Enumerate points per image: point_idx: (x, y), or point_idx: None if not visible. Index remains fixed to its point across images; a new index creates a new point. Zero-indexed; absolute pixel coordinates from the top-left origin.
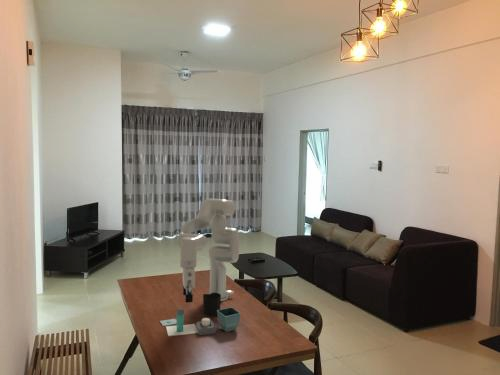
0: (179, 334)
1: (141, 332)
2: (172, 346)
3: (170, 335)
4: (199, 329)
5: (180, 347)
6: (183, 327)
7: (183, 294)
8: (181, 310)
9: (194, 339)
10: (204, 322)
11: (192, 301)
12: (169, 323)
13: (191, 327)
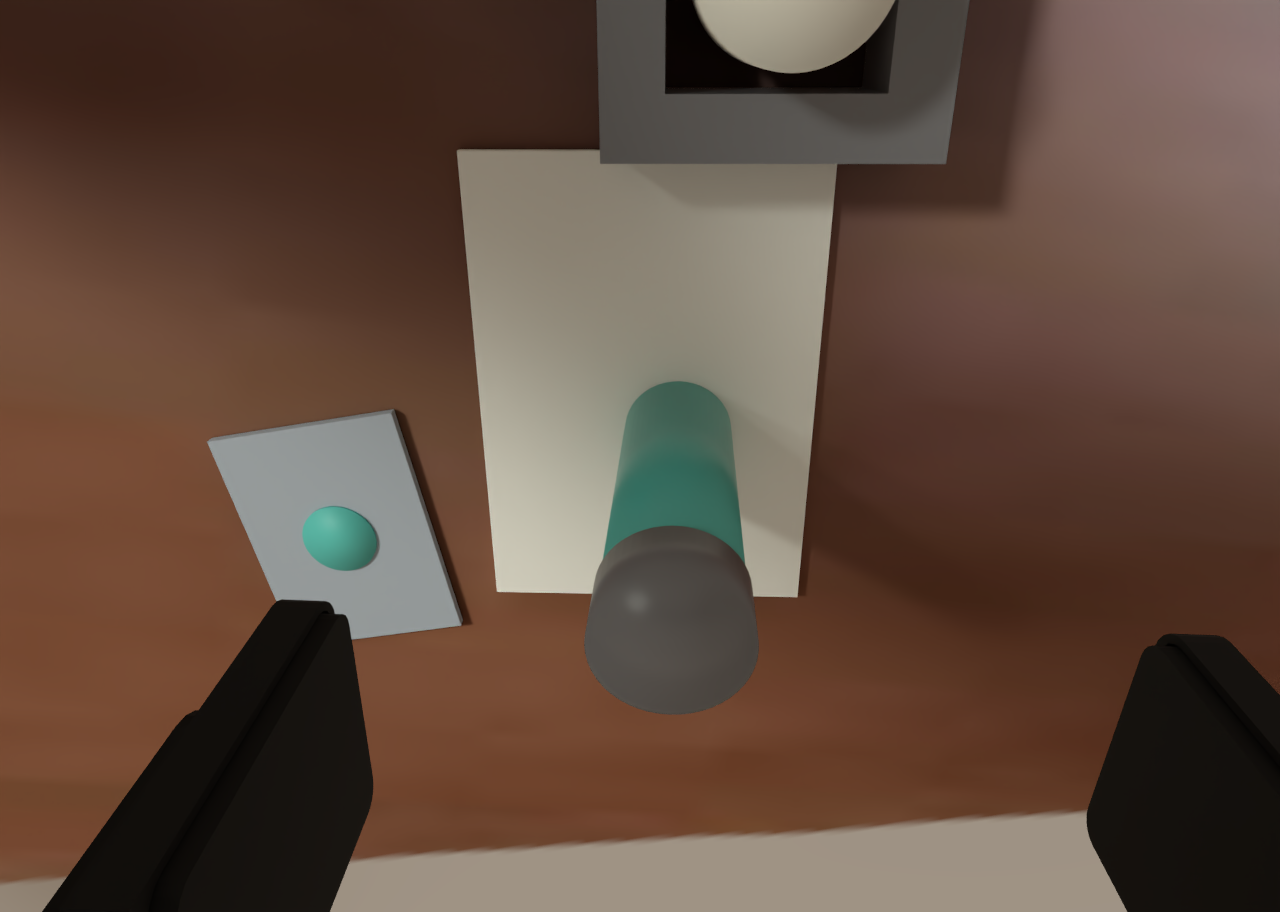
0: (809, 452)
1: (604, 834)
2: (1122, 573)
3: (798, 566)
4: (942, 148)
5: (1204, 485)
6: (575, 364)
7: (356, 815)
8: (733, 629)
9: (1046, 250)
10: (882, 14)
11: (1223, 639)
12: (394, 540)
13: (601, 234)
